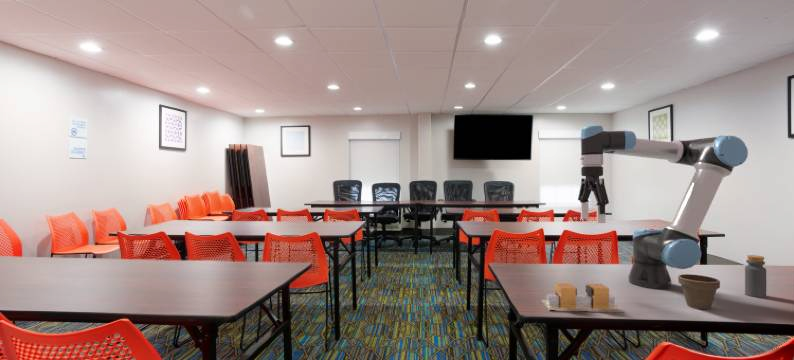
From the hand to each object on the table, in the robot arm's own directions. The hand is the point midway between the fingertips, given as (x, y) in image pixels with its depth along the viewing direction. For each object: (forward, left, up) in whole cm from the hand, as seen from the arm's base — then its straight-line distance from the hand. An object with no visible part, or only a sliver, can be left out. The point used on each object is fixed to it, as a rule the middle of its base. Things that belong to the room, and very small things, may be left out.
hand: (592, 220), depth 144 cm
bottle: (-60, 0, -29) cm, 67 cm away
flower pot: (-30, +12, -29) cm, 44 cm away
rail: (+11, +15, -29) cm, 34 cm away
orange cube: (+16, +15, -28) cm, 35 cm away
